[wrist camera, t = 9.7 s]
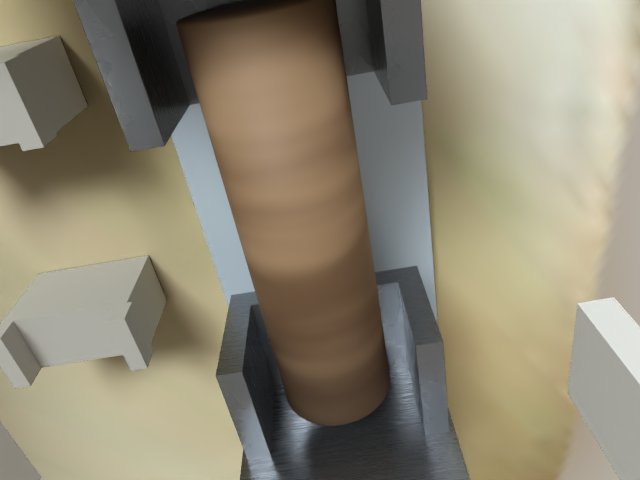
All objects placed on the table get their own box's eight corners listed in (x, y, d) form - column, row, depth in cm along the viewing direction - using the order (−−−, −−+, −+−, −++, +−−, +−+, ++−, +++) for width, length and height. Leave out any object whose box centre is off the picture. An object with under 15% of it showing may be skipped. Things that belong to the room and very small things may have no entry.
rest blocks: (58, 317, 29) (14, 388, 25) (-83, 63, 22) (-180, 97, 18) (171, 299, 29) (147, 368, 24) (64, 34, 22) (4, 62, 17)
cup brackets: (260, 335, 30) (240, 545, 20) (134, -84, 20) (-49, -96, 9) (415, 312, 30) (476, 515, 20) (372, -133, 19) (455, -203, 9)
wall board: (244, 338, 30) (242, 350, 30) (109, -79, 20) (99, -80, 19) (433, 309, 30) (437, 320, 29) (399, -139, 19) (404, -142, 18)
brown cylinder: (382, 338, 24) (398, 416, 20) (286, 353, 24) (284, 433, 21) (329, -17, 17) (339, -1, 13) (191, 10, 17) (159, 34, 13)
